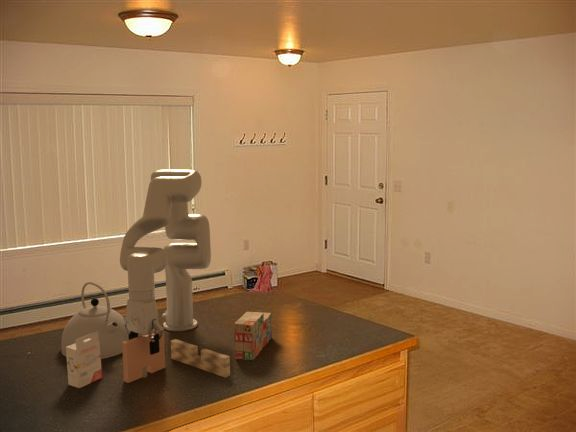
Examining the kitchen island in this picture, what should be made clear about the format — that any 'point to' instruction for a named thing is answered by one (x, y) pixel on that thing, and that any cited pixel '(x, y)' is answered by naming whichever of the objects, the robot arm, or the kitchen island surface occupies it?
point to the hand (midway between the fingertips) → (144, 349)
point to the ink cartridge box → (84, 360)
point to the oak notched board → (200, 358)
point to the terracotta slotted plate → (141, 357)
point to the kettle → (97, 326)
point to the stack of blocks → (252, 334)
